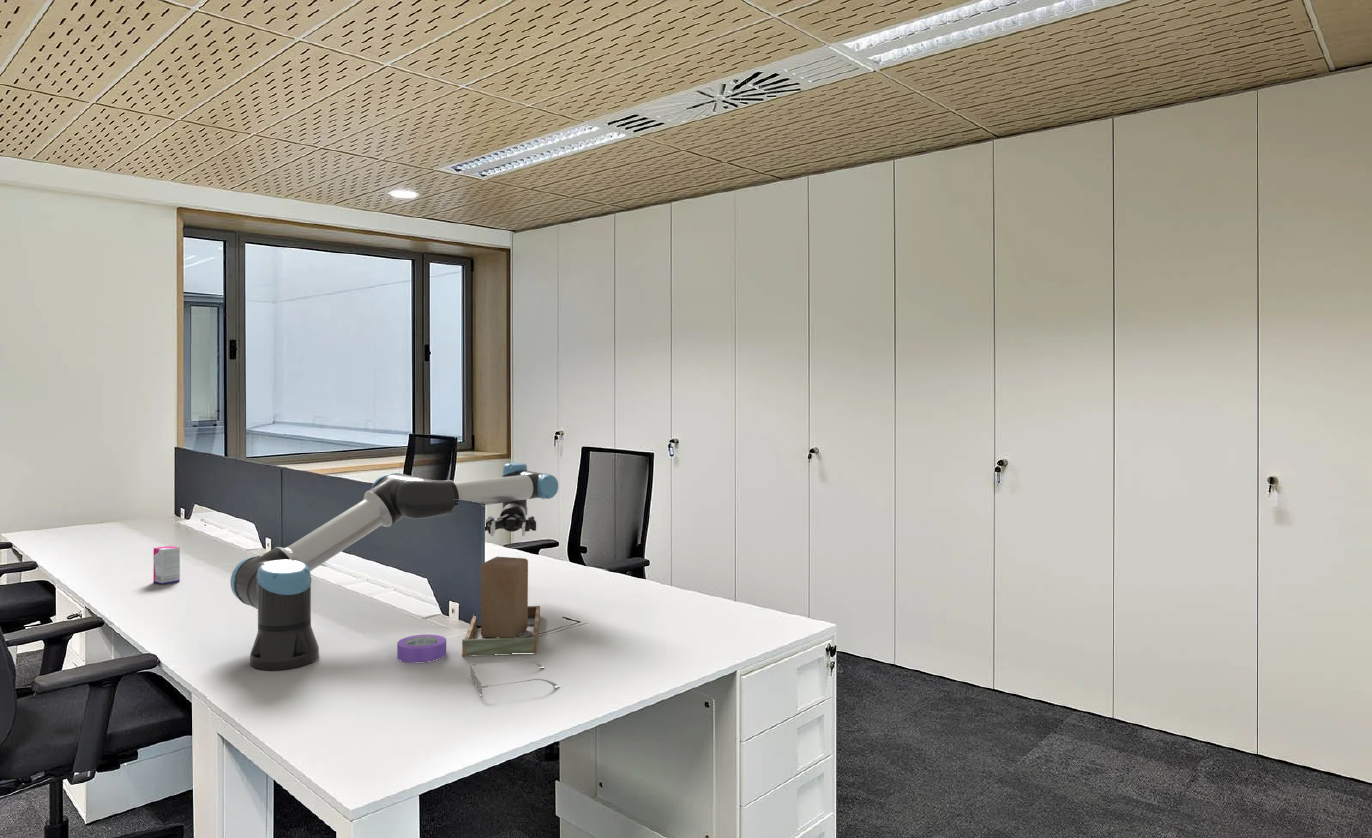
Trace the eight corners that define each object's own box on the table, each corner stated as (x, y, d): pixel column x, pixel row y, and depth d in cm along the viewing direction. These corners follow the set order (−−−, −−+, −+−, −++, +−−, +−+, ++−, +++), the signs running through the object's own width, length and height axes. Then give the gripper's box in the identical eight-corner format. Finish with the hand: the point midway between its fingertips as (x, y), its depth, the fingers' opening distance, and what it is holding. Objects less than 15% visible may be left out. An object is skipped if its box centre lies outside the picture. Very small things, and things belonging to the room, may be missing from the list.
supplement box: (180, 581, 281) (180, 547, 281) (161, 585, 276) (161, 550, 276) (171, 579, 284) (171, 544, 284) (152, 582, 279) (152, 547, 279)
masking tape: (407, 647, 219) (407, 633, 219) (452, 649, 219) (452, 634, 219) (389, 663, 207) (389, 647, 207) (437, 664, 207) (437, 649, 207)
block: (514, 640, 226) (514, 565, 225) (479, 637, 228) (479, 563, 227) (528, 629, 235) (529, 557, 234) (494, 627, 237) (495, 555, 236)
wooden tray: (535, 654, 215) (535, 638, 215) (462, 656, 212) (462, 640, 212) (540, 616, 249) (540, 602, 248) (476, 617, 246) (476, 603, 246)
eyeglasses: (468, 678, 199) (468, 661, 199) (545, 668, 206) (545, 652, 206) (480, 702, 185) (480, 683, 185) (562, 691, 192) (562, 673, 192)
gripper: (546, 529, 264) (545, 544, 242) (477, 529, 261) (469, 544, 239) (547, 505, 264) (545, 517, 241) (478, 505, 261) (469, 518, 239)
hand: (507, 531), depth 240 cm, fingers open, 8 cm apart
